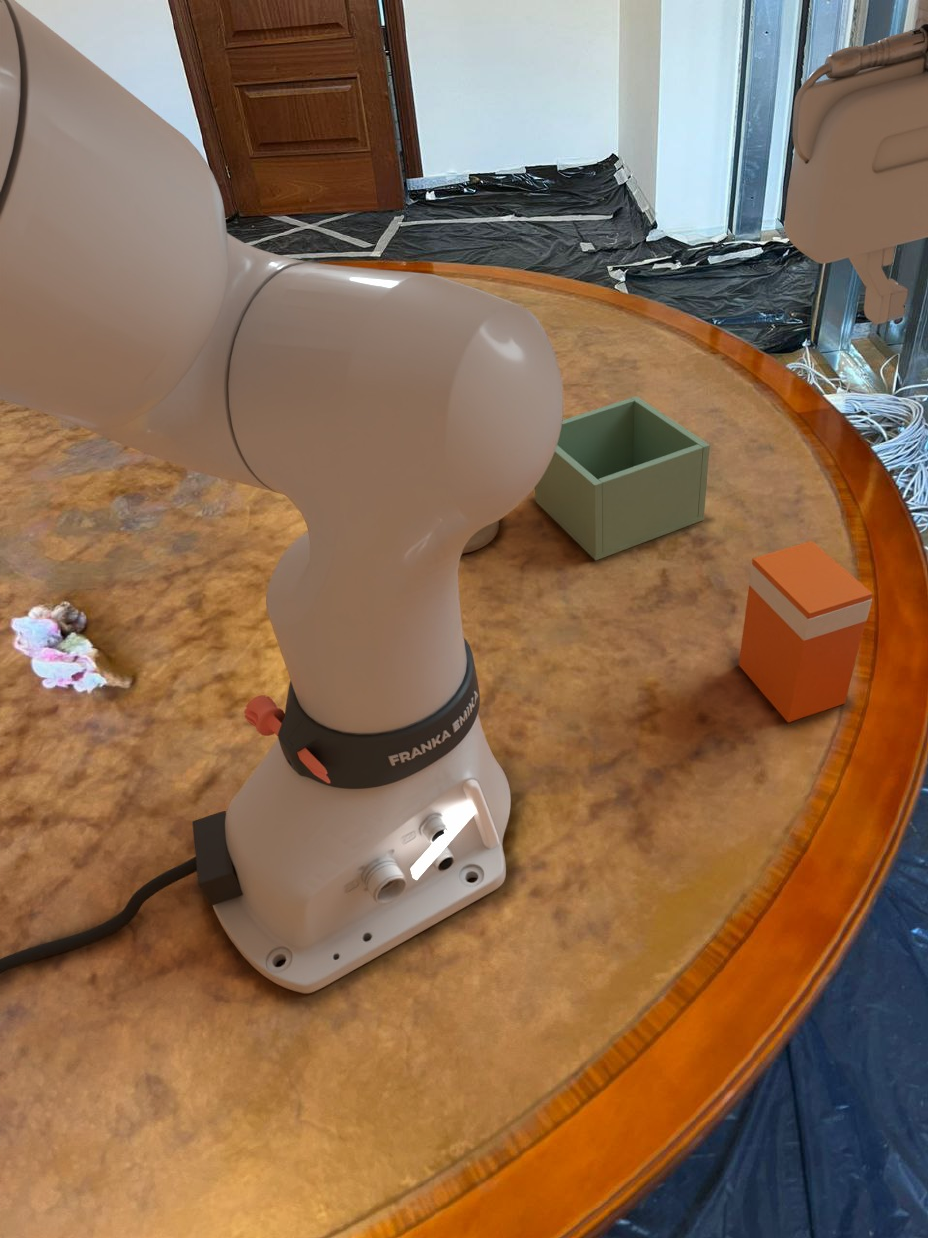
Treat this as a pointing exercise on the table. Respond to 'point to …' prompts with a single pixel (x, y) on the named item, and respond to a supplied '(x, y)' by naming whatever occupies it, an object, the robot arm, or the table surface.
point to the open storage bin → (624, 477)
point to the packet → (802, 629)
